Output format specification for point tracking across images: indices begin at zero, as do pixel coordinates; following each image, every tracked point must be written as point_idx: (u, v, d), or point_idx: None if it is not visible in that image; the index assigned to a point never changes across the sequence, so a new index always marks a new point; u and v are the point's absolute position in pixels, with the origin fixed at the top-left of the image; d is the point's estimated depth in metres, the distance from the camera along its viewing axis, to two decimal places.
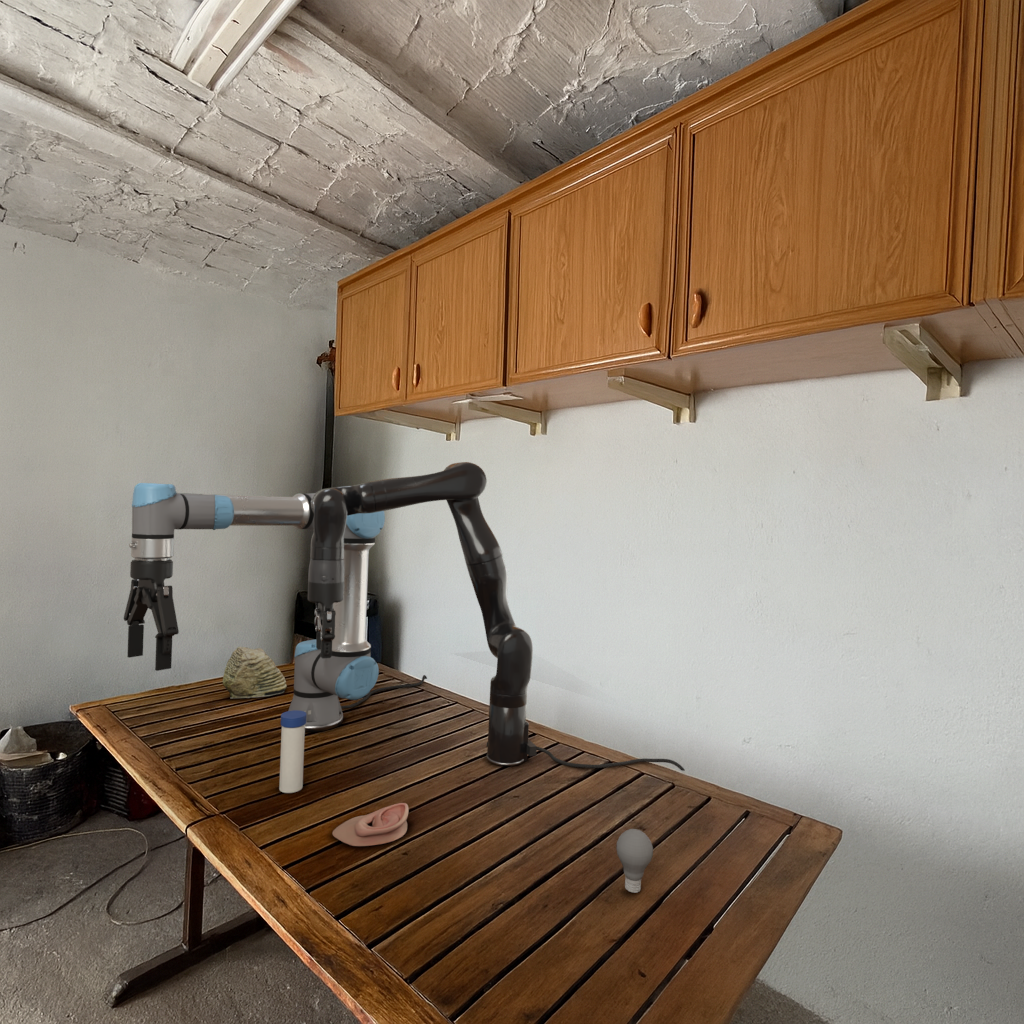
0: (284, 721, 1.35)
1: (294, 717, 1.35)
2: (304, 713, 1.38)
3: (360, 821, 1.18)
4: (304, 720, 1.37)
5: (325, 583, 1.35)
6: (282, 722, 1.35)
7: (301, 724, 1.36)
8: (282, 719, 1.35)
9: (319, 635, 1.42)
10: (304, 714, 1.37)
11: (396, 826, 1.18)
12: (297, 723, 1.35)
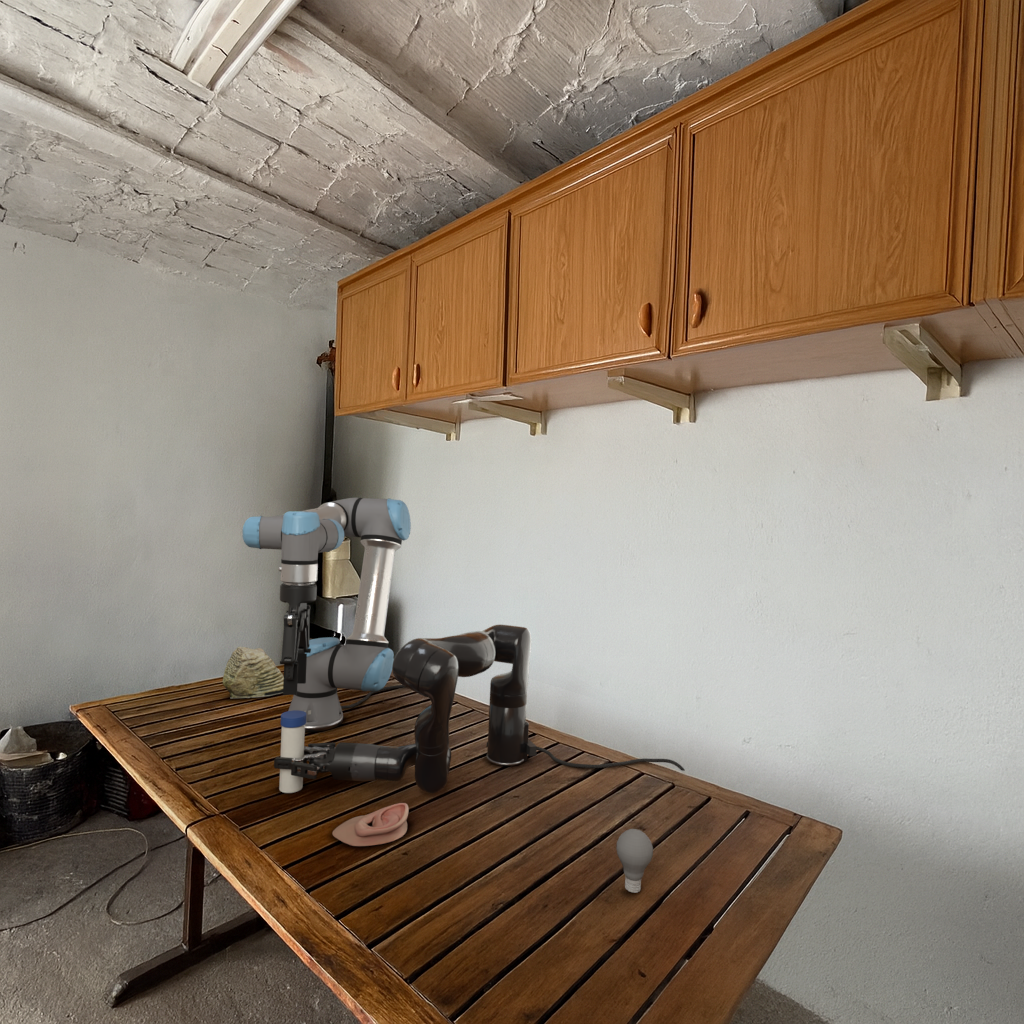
0: (284, 721, 1.35)
1: (294, 717, 1.35)
2: (304, 713, 1.38)
3: (360, 821, 1.18)
4: (304, 720, 1.37)
5: None
6: (282, 722, 1.35)
7: (301, 724, 1.36)
8: (282, 719, 1.35)
9: None
10: (304, 714, 1.37)
11: (396, 826, 1.18)
12: (297, 723, 1.35)
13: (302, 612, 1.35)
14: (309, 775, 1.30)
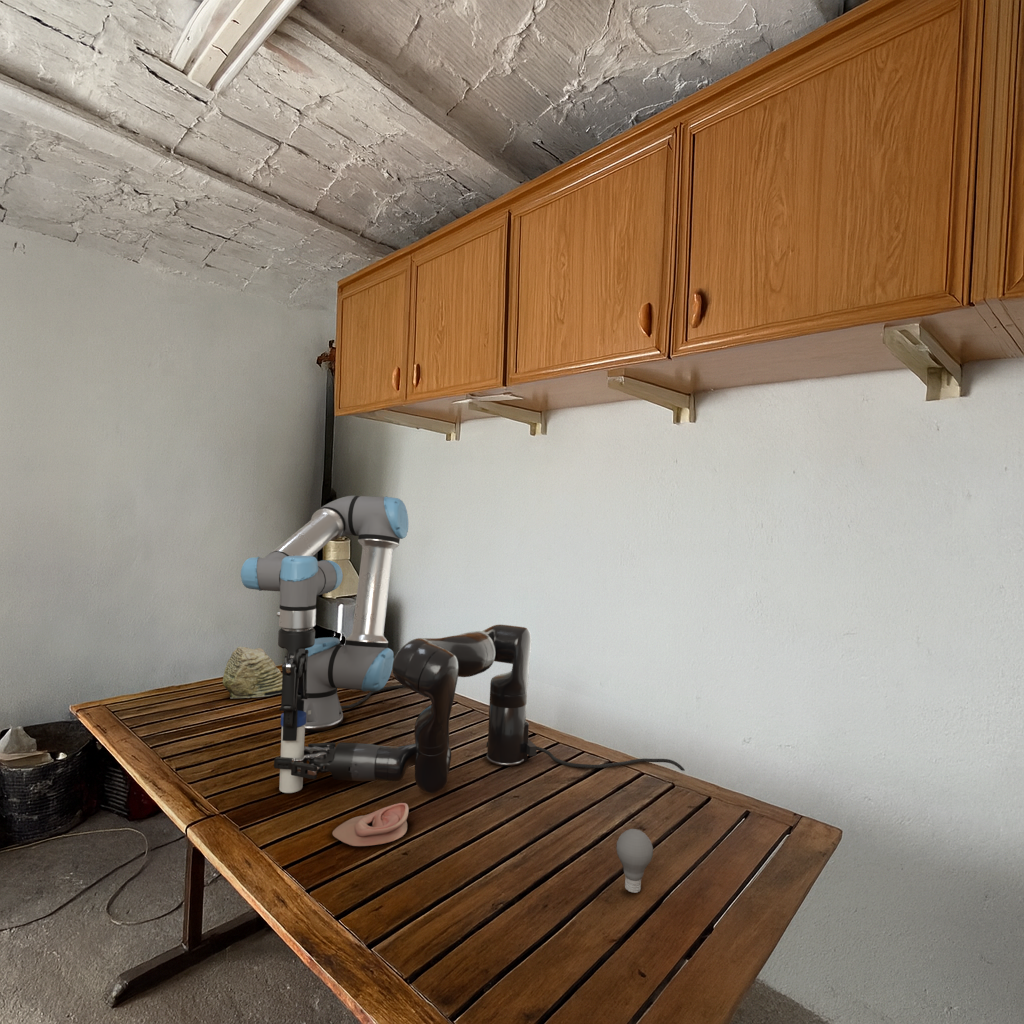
0: None
1: None
2: (304, 713, 1.38)
3: (360, 821, 1.18)
4: (304, 720, 1.37)
5: None
6: (282, 722, 1.35)
7: (301, 724, 1.36)
8: (282, 719, 1.35)
9: None
10: (304, 714, 1.37)
11: (396, 826, 1.18)
12: (297, 723, 1.35)
13: (300, 657, 1.35)
14: (309, 775, 1.30)
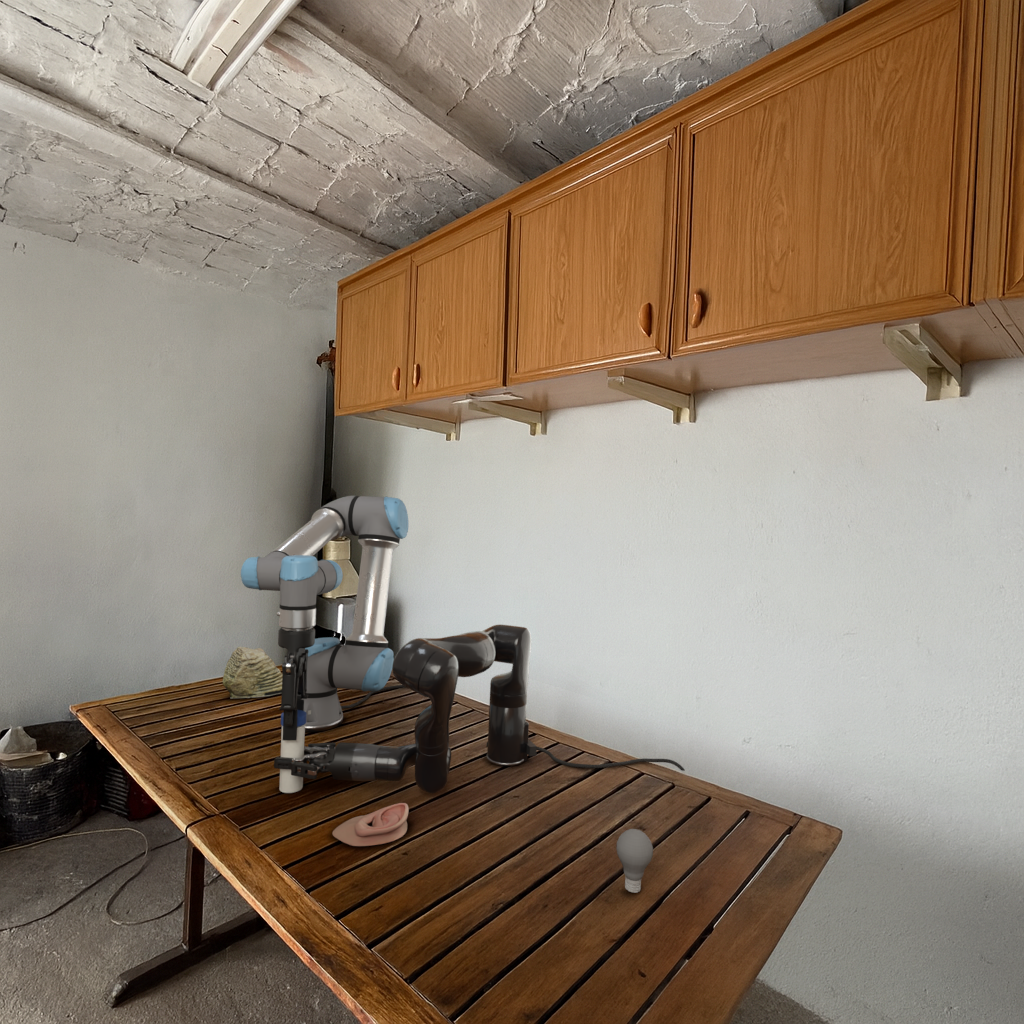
0: (300, 720, 1.35)
1: (303, 713, 1.37)
2: None
3: (360, 821, 1.18)
4: None
5: None
6: (298, 722, 1.35)
7: None
8: (298, 719, 1.35)
9: None
10: None
11: (396, 826, 1.18)
12: None
13: (300, 657, 1.35)
14: (309, 775, 1.30)
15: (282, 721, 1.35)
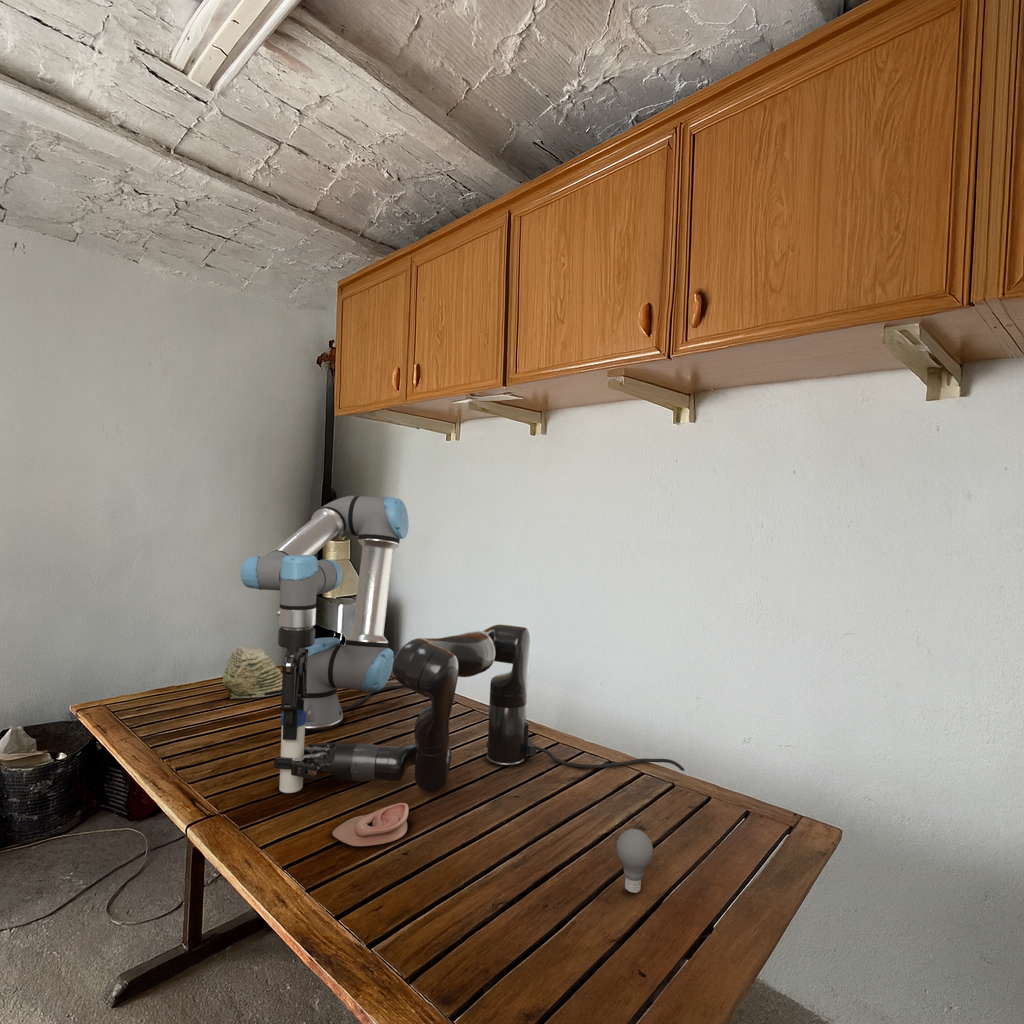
0: None
1: None
2: (283, 713, 1.37)
3: (360, 821, 1.18)
4: None
5: None
6: None
7: None
8: None
9: None
10: None
11: (396, 826, 1.18)
12: None
13: (300, 656, 1.35)
14: (309, 775, 1.30)
15: (298, 721, 1.35)
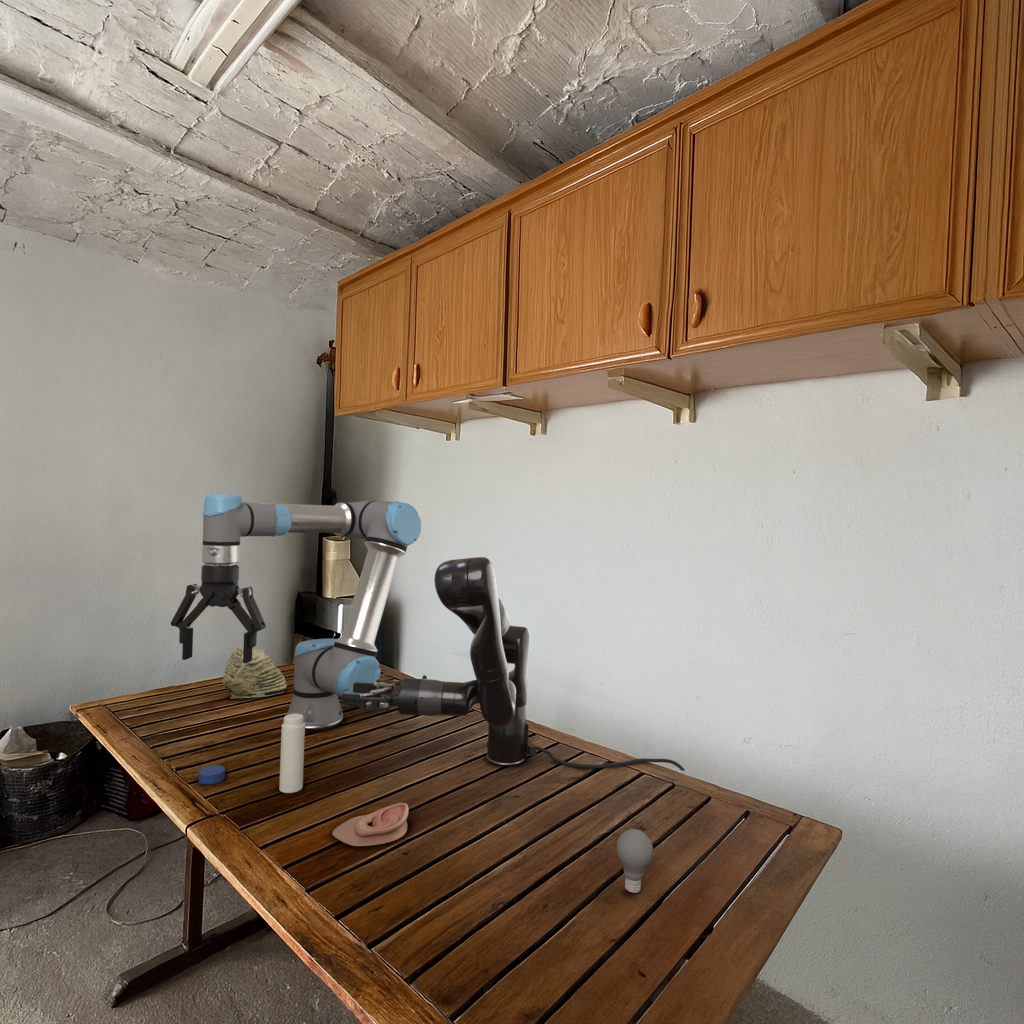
0: (223, 774, 1.40)
1: (219, 767, 1.41)
2: (205, 767, 1.41)
3: (360, 821, 1.18)
4: None
5: None
6: (223, 776, 1.40)
7: None
8: (223, 773, 1.39)
9: None
10: (208, 766, 1.41)
11: (396, 826, 1.18)
12: None
13: None
14: (382, 708, 1.29)
15: (207, 780, 1.37)
